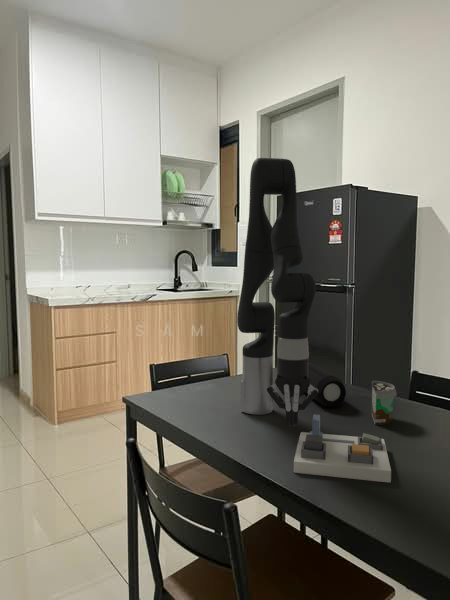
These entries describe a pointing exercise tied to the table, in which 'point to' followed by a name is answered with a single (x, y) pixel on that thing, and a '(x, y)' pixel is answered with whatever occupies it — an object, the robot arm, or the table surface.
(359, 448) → the orange push button
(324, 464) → the control panel
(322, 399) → the portable speaker
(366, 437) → the olive rocker
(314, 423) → the blue paddle
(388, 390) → the food container
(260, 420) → the table surface
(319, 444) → the gray push button
